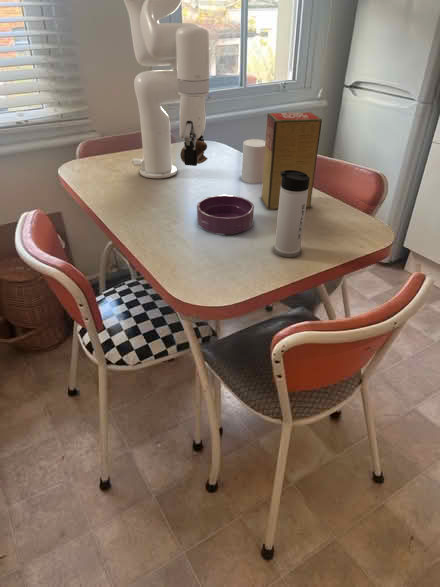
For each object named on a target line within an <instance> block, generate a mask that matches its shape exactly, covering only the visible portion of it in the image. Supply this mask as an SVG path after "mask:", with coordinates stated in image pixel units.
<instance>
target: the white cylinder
mask: <svg viewBox="0 0 440 587" xmlns="http://www.w3.org/2000/svg"><path fill="white" fill-rule="evenodd" d="M265 142H266V140H264V139H257V138H251V139H246V140H244V141H243V144H242V162H241V163H242V165H241V180H242V181H243V182H245V183H248V184H262V183H263V169H264V155H265Z"/></svg>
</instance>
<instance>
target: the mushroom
mask: <svg viewBox="0 0 440 587" xmlns="http://www.w3.org/2000/svg"><path fill="white" fill-rule="evenodd" d="M191 141H192V140H191ZM192 142H194V140H193V141H192ZM196 149H197V165H200V164H202V163H205V162H206V161H207V160H208V157H207V156H206V155H205V152H206V150H207V149H208V144H207V143H206V142H205V141H204V142H203V141H199V140H197V142H196ZM203 153H204V154H203ZM179 155H180V160H181V161H182V162H183V163H184V146H183V147H182V148H181V150H180V154H179Z"/></svg>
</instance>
